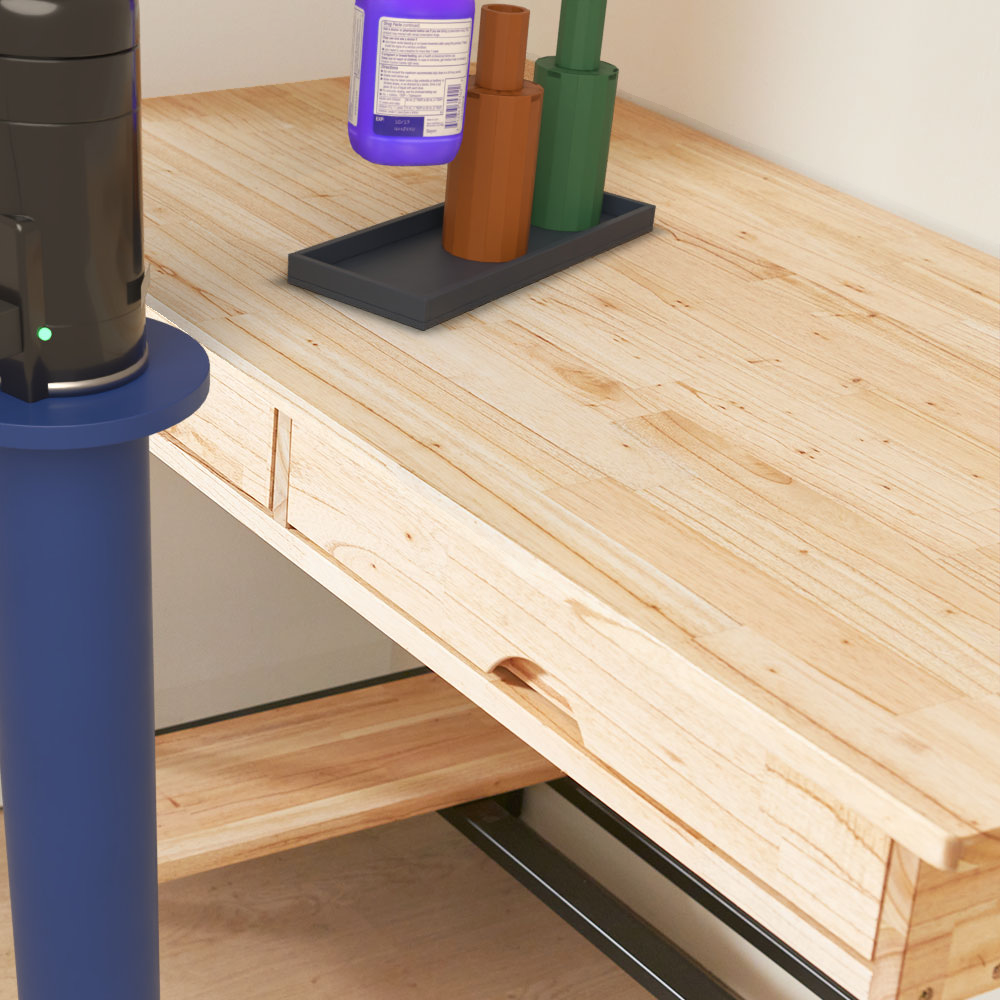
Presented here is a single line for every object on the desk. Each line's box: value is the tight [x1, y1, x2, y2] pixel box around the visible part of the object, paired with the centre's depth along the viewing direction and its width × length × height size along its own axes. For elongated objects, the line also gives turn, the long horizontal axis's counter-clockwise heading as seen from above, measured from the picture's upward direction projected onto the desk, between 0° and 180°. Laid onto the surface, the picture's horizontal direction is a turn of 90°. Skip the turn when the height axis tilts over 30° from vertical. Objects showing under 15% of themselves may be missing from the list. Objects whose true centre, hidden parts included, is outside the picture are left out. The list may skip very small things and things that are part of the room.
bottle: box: [347, 0, 476, 167], centre depth 94 cm, size 7×6×17 cm
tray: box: [286, 190, 657, 331], centre depth 109 cm, size 29×11×2 cm, turn 146°
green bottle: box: [530, 0, 620, 232], centre depth 113 cm, size 6×6×17 cm
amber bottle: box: [442, 3, 544, 263], centre depth 105 cm, size 6×6×17 cm
